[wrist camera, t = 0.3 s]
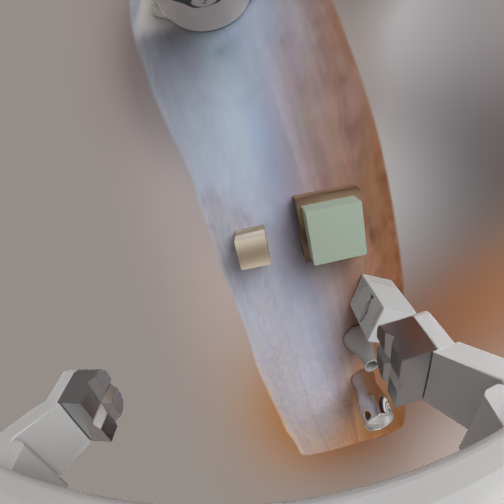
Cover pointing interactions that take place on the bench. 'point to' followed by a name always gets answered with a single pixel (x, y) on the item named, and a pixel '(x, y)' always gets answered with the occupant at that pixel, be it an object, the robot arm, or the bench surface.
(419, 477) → the robot arm
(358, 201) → the tower top block
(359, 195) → the tower base slab
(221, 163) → the bench surface
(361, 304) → the supplement box
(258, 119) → the bench surface
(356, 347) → the flask
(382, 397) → the beer glass
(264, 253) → the birch block
